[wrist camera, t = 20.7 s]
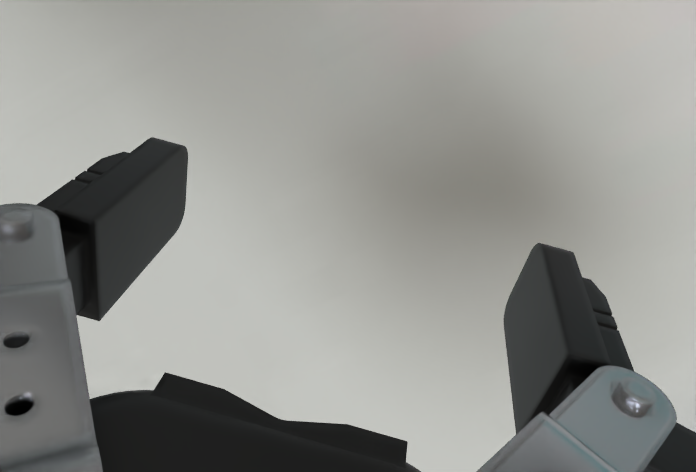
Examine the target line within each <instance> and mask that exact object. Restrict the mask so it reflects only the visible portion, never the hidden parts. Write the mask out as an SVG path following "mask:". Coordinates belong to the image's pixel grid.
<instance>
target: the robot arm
mask: <svg viewBox="0 0 696 472" xmlns="http://www.w3.org/2000/svg"><path fill="white" fill-rule="evenodd" d="M187 165H188V152H187V149H186V147H185V146H183V145H179V144H175V143H172V142H168V141H164V140H160V139H157V138H149V139H148V140H147V141H145V142H144V143H143V144H141V145H140V146H139V147H137V148H136V149H135V150H133V151H132V152H131V153H126V152H122V153H118V154H115V155H112V156H108V157H105V158H102V159H101V160H99V161H98V162H96V163H95V164H94V165H92V166H91V167H89V168H88V169H87V171H84V172H82V173H81V174H80V175H78V176H77V177H75V180H71V181H70V182H68V183H67V184H65V185H64V186H63V187H61V188H60V189H58V190H57V191H56V192H54V193H53V194H51V195H50V196H49V197H47V198H46V199H44V200H43V201H41V202H40V203H39V204H37V205H33V204H22V203H16V204H4V205H0V472H421V471H419V470H418V469H416V468H415V467H413V466H412V465H410V464H408V463H406V452H407V441H404V440H400V439H397V438H393V437H390V436H386V435H383V434H379V433H376V432H372V431H369V430H365V429H362V428H358V427H354V426H351V425H347V424H332V423H315V422H299V421H285V420H281V419H278V418H276V417H274V416H272V415H270V414H268V413H266V412H265V411H263V410H261V409H259V408H257V407H255V406H254V405H252V404H250V403H248V402H246V401H244V400H243V399H241V398H239V397H237V396H235V395H234V394H232V393H230V392H228V391H226V390H224V389H221V388H218V387H214V386H211V385H207V384H204V383H200V382H197V381H193V380H190V379H186V378H183V377H179V376H176V375H172V374H169V373H165V374H164V375H163V377H162V378H161V380H160V381H159V383H158V385H157V386H156V388H155V389H154V390H137V391H125V392H117V393H112V394H108V395H103V396H99V397H96V398H93V399H89V393H88V386H87V380H86V374H85V368H84V361H83V355H82V349H81V343H80V336H79V330H78V324H77V317H76V315H80V316H83V317H87V318H90V319H94V320H97V321H100V320H101V319H102V317H103V316H104V315H105V314H106V313H107V312H108V310H109V309H110V308H111V307H112V306H113V305H114V303H115V302H116V301H117V300H118V299H119V298H120V297H121V295H122V294H123V293H124V292H125V291H126V290H127V288H128V287H129V286H130V285H131V284H132V283H133V281H134V280H135V279H136V278H137V277H138V276H139V275H140V273H141V272H142V271H143V270H144V269H145V268H146V266H147V265H148V264H149V263H150V262H151V261H152V259H153V258H154V257H155V256H156V255H157V254H158V253H159V251H160V250H161V249H162V248H163V247H164V246H165V244H166V243H167V242H168V241H169V240H170V239H171V237H172V236H173V235H174V234H175V233H176V231H177V230H178V228H179V226H180V224H181V222H182V219H183V216H184V211H185V201H186V183H187ZM611 315H612V312H611V309H610V307H609V304H608V302H607V299H606V297H605V295H604V294H603V293H602V292H601V291H600V290H599V289H598V288H597V286H596V285H595V284H594V283H593V282H592V281H591V280H590V279H586V278H582V276H581V273H580V270H579V267H578V264H577V261H576V258H575V255H574V253H573V252H571V251H567V250H564V249H560V248H556V247H553V246H549V245H545V244H541V243H537V244H536V245H535V246H534V247H533V249H532V251H531V252H530V254H529V257H528V259H527V261H526V263H525V265H524V267H523V269H522V271H521V273H520V275H519V277H518V280H517V282H516V284H515V286H514V288H513V290H512V292H511V294H510V296H509V299H508V302H507V305H506V309H505V314H504V330H505V339H506V348H507V357H508V366H509V374H510V383H511V392H512V401H513V410H514V419H515V428H516V435H515V436H514V437H513V438H512V439H511V440H510V441H509V442H508V443H507V444H506V445H505V446H504V447H502V448H501V449H500V450H499V451H498V452H497V453H496V454H495V455H494V456H493V457H492V458H491V459H490V460H489V461H487V462H486V463H485V464H484V465H483V466H482V467H481V468H480V469H479V470H478V471H477V472H696V433H695V432H693V431H691V430H689V429H687V428H686V427H684V426H682V425H680V424H678V423H677V422H676V420H677V417H676V412H675V409H674V407H673V405H672V403H671V402H670V400H669V399H668V397H667V396H666V395H665V394H664V393H663V392H662V391H661V390H660V389H659V388H658V387H657V386H656V385H655V384H653V383H652V382H651V381H649V380H648V379H646V378H645V377H643V376H642V375H640V374H638V373H636V372H634V370H633V367H632V364H631V362H630V359H629V357H628V354H627V351H626V349H625V346H624V343H623V341H622V338H621V336H620V333H619V331H617V325H616V323H615V320H614V317H612V316H611Z"/></svg>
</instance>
